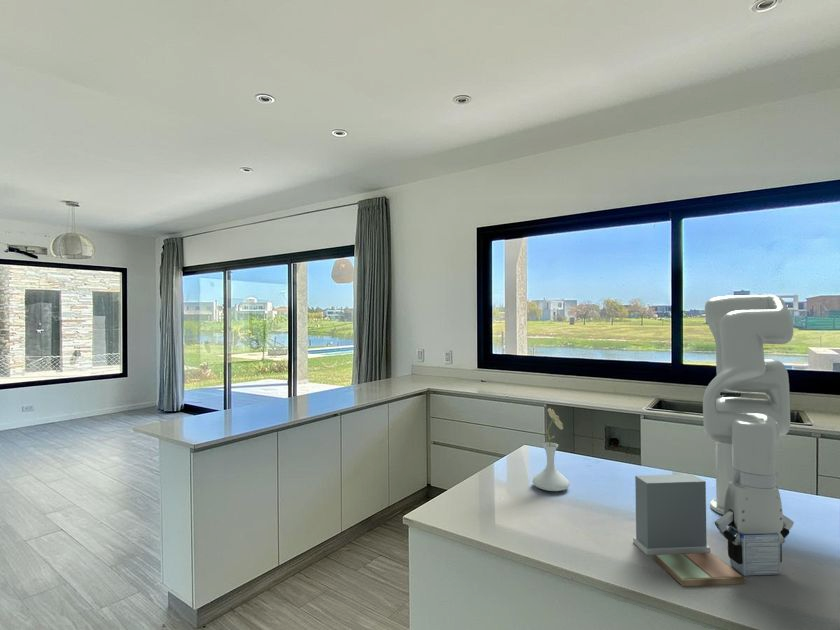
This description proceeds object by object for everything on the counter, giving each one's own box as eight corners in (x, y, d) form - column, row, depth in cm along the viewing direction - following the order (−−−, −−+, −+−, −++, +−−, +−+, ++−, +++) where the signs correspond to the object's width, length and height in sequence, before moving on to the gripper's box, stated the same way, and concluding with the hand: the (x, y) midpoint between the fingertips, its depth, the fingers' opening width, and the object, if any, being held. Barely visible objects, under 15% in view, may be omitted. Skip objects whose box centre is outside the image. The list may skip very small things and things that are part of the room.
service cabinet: (693, 539, 110) (692, 473, 110) (710, 552, 104) (709, 482, 104) (633, 542, 109) (632, 475, 109) (646, 555, 103) (645, 484, 103)
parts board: (710, 557, 102) (709, 551, 102) (744, 583, 92) (744, 577, 92) (654, 559, 101) (654, 553, 101) (682, 586, 91) (682, 579, 91)
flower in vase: (569, 496, 137) (568, 414, 137) (531, 492, 140) (530, 412, 141) (569, 481, 149) (568, 406, 150) (534, 478, 153) (533, 404, 153)
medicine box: (764, 564, 99) (763, 524, 99) (781, 575, 94) (780, 534, 94) (729, 565, 99) (728, 525, 99) (744, 576, 94) (744, 535, 94)
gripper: (777, 471, 101) (778, 549, 101) (702, 473, 100) (703, 552, 100) (808, 483, 93) (809, 568, 93) (727, 485, 92) (728, 571, 92)
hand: (754, 559), depth 96 cm, fingers closed on medicine box, 8 cm apart
